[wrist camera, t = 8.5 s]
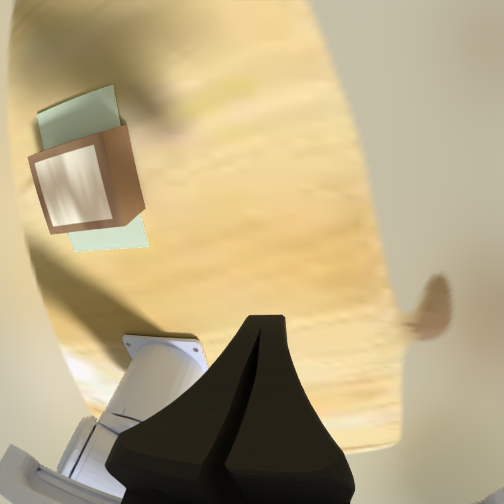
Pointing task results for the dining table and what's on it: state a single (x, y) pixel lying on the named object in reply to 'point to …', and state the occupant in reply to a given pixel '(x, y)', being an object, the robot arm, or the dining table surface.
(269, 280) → the dining table surface
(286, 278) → the dining table surface
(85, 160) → the walnut frame
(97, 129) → the sage mat
